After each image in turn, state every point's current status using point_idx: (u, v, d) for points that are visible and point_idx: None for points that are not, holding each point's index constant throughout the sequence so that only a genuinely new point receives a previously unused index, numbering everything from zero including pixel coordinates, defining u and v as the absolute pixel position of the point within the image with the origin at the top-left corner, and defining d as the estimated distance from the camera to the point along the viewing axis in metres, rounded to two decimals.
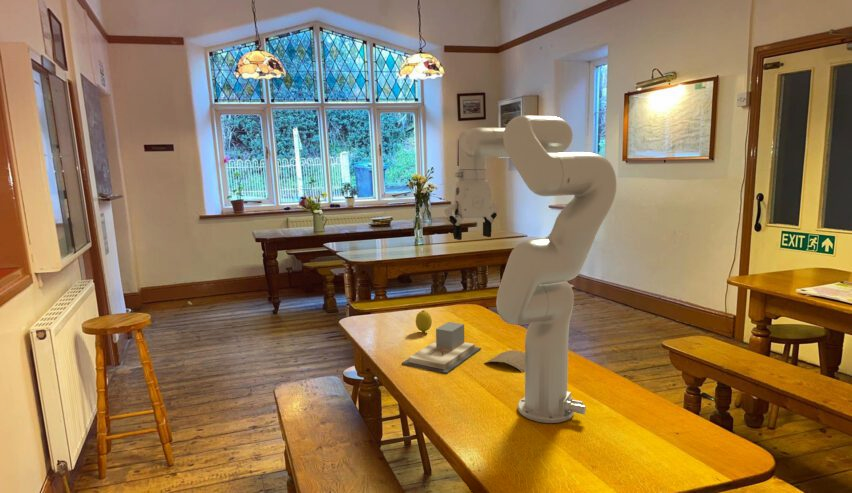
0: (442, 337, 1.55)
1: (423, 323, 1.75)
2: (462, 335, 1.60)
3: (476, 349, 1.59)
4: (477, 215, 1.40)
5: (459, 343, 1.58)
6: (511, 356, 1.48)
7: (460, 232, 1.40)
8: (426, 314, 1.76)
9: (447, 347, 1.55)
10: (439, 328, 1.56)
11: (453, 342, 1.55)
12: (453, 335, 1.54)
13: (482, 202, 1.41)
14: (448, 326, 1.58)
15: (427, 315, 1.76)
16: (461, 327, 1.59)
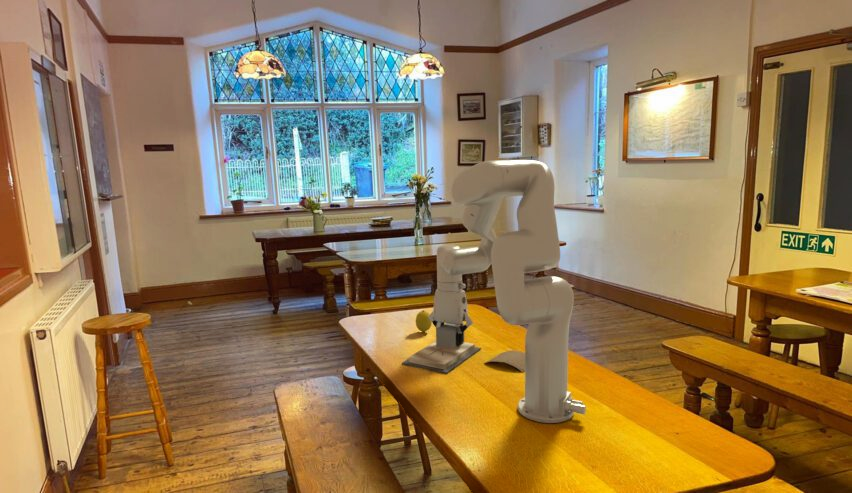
0: (442, 337, 1.55)
1: (423, 323, 1.75)
2: None
3: (476, 349, 1.59)
4: None
5: None
6: (511, 356, 1.48)
7: None
8: (426, 314, 1.76)
9: (447, 347, 1.55)
10: (439, 328, 1.56)
11: (453, 342, 1.55)
12: (453, 335, 1.54)
13: None
14: (448, 326, 1.58)
15: (427, 315, 1.76)
16: None
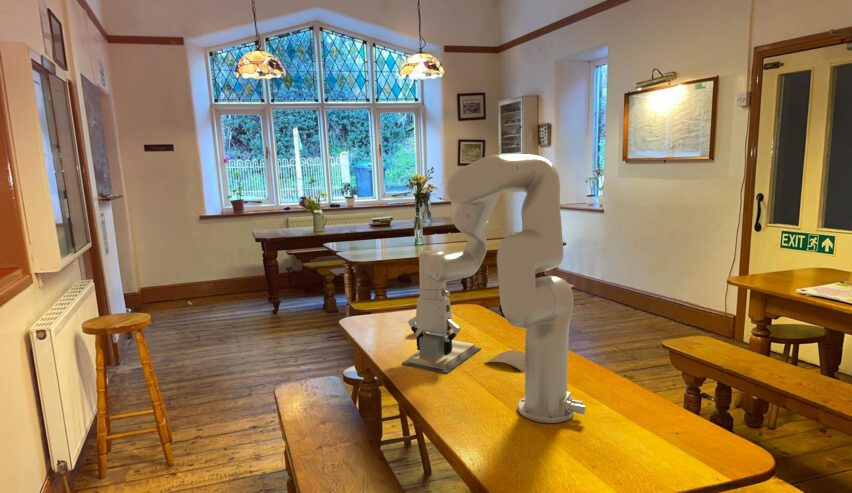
0: (426, 347, 1.47)
1: None
2: None
3: (476, 349, 1.59)
4: None
5: None
6: (511, 356, 1.48)
7: None
8: None
9: (431, 358, 1.47)
10: (422, 338, 1.48)
11: (437, 352, 1.46)
12: (437, 345, 1.46)
13: None
14: (432, 336, 1.49)
15: None
16: None
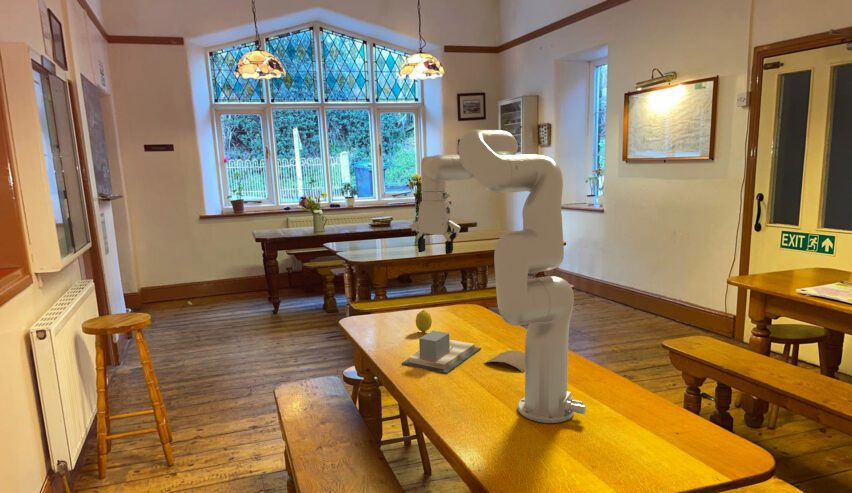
0: (426, 347, 1.47)
1: (423, 323, 1.75)
2: (447, 345, 1.51)
3: (476, 349, 1.59)
4: None
5: (444, 353, 1.50)
6: (511, 356, 1.48)
7: None
8: (426, 314, 1.76)
9: (431, 358, 1.47)
10: (422, 338, 1.48)
11: (437, 352, 1.46)
12: (437, 345, 1.46)
13: None
14: (432, 336, 1.49)
15: (427, 315, 1.76)
16: (446, 336, 1.50)
